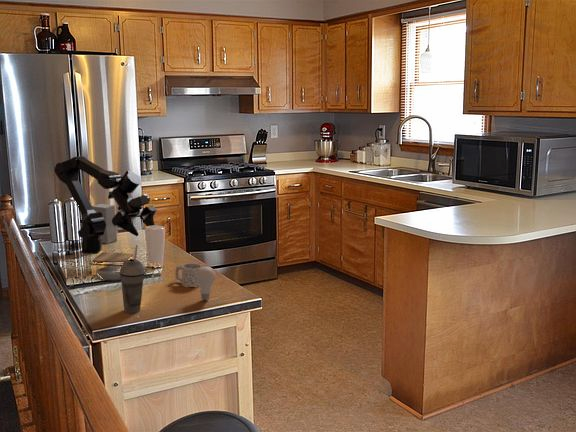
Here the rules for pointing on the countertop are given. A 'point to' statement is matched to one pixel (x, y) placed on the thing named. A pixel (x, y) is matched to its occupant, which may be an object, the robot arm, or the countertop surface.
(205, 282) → the lightbulb
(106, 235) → the skincare box
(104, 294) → the countertop surface
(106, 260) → the square walnut board
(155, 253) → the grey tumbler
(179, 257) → the countertop surface
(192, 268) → the mug
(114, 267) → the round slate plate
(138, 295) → the beverage cup
